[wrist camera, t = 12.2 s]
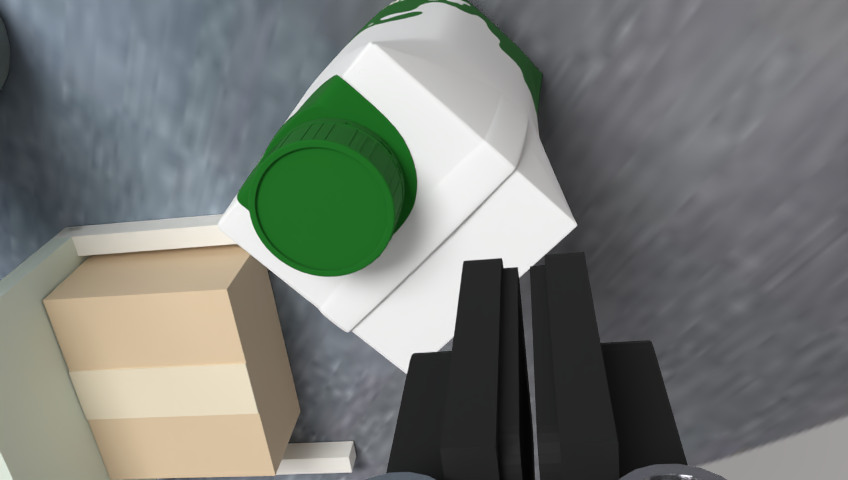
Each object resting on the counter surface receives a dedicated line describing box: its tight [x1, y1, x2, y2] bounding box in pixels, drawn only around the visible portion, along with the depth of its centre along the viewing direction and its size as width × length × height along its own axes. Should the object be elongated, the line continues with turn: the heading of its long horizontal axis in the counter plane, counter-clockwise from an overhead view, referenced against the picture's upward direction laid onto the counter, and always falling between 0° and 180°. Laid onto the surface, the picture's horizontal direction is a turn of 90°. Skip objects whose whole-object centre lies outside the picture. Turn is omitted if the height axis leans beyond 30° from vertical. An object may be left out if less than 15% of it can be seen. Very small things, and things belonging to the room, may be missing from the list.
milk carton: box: [218, 0, 577, 374], centre depth 30 cm, size 9×9×20 cm
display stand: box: [0, 214, 356, 480], centre depth 42 cm, size 14×17×12 cm
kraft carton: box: [43, 244, 300, 479], centre depth 45 cm, size 10×12×6 cm
